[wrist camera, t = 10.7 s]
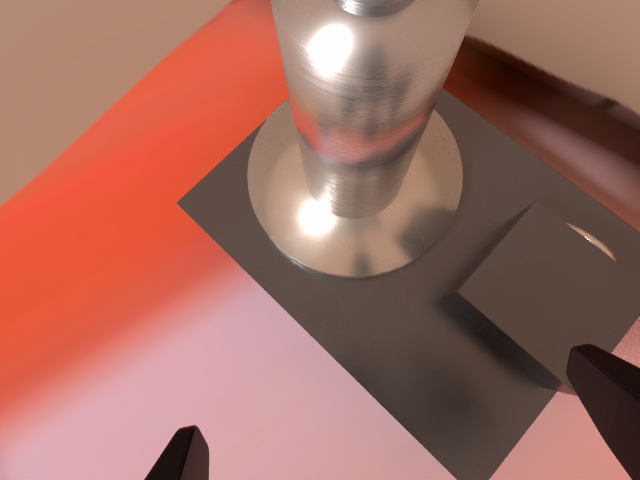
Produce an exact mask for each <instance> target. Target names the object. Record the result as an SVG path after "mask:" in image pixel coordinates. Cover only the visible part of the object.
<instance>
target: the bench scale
mask: <svg viewBox="0 0 640 480" xmlns="http://www.w3.org/2000/svg"><path fill="white" fill-rule="evenodd" d="M177 204H178V205H179V206H180V207H181V208H182V209H183V210H184V211H185V212H186V213H187V214H188V215H189V216H190V217H191V218H192V219H193V220H194V221H195V222H196V223H197V224H198V225H200V226H201V227H202V228H203V229H204V230H205V231H206V232H207V233H208V234H209V235H210V236H211V237H212V238H213V239H214V240H215V241H216V242H217V243H218V244H219V245H220V246H221V247H222V248H223V249H224V250H225V251H226V252H227V253H228V254H229V255H230V256H231V257H232V258H233V259H234V260H235V261H236V262H237V263H238V264H239V265H240V266H241V267H242V268H243V269H244V270H245V271H246V272H247V273H248V274H249V275H250V276H251V277H252V278H253V279H254V280H255V281H256V282H257V283H258V284H259V285H260V286H261V287H262V288H263V289H264V290H265V291H266V292H267V293H268V294H269V295H270V296H272V297H273V298H274V299H275V300H276V301H277V302H278V303H279V304H280V305H281V306H282V307H283V308H284V309H285V310H286V311H287V312H288V313H289V314H290V315H291V316H292V317H293V318H294V319H295V320H296V321H297V322H298V323H299V324H300V325H301V326H302V327H303V328H304V329H305V330H306V331H307V332H308V333H309V334H310V335H311V336H312V337H313V338H314V339H315V340H316V341H317V342H318V343H319V344H320V345H321V346H322V347H323V348H324V349H325V350H326V351H327V352H328V353H329V354H330V355H331V356H332V357H333V358H334V359H335V360H336V361H337V362H338V363H339V364H340V365H341V366H342V367H343V368H345V369H346V370H347V371H348V372H349V373H350V374H351V375H352V376H353V377H354V378H355V379H356V380H357V381H358V382H359V383H360V384H361V385H362V386H363V387H364V388H365V389H366V390H367V391H368V392H369V393H370V394H371V395H372V396H373V397H374V398H375V399H376V400H377V401H378V402H379V403H380V404H381V405H382V406H383V407H384V408H385V409H386V410H387V411H388V412H389V413H390V414H391V415H392V416H393V417H394V418H395V419H396V420H397V421H398V422H399V423H400V424H401V425H402V426H403V427H404V428H405V429H406V430H407V431H408V432H409V433H410V434H411V435H412V436H413V437H414V438H415V439H416V440H418V441H419V442H420V443H421V444H422V445H423V446H424V447H425V448H426V449H427V450H428V451H429V452H430V453H431V454H432V455H433V456H434V457H435V458H436V459H437V460H438V461H439V462H440V463H441V464H442V465H443V466H444V467H445V468H446V469H447V470H448V471H449V472H450V473H451V474H452V475H453V476H454V477H455V478H456V479H457V480H489V479H490V478H491V476H492V475H493V474H494V472H495V471H496V470H497V469H498V467H499V466H500V465H501V463H502V462H503V461H504V459H505V458H506V457H507V456H508V454H509V453H510V452H511V450H512V449H513V448H514V447H515V445H516V444H517V443H518V441H519V440H520V439H521V437H522V436H523V435H524V434H525V432H526V431H527V430H528V428H529V427H530V426H531V425H532V423H533V422H534V421H535V419H536V418H537V417H538V415H539V414H540V413H541V412H542V410H543V409H544V408H545V406H546V405H547V404H548V402H549V401H550V400H551V399H552V397H553V396H554V395H555V393H556V392H557V391H559V392H563V393H567V394H572V395H576V396H578V395H577V393H576V392H575V390H574V388H573V387H572V385H571V383H570V381H569V379H568V377H567V374H566V368H567V363H568V358H569V354H570V350H571V348H572V347H574V346H578V345H583V344H592V345H595V346H597V347H599V348H601V349H603V350H605V351H607V352H609V353H611V352H612V351H613V350H614V349H615V347H616V346H617V345H618V343H619V342H620V341H621V339H622V338H623V337H624V335H625V334H626V333H627V331H628V330H629V329H630V327H631V326H632V325H633V323H634V322H635V321H636V320H637V318H638V317H639V316H640V232H639V231H637V230H636V229H635V228H633V227H632V226H631V225H629V224H628V223H626V222H625V221H624V220H622V219H621V218H620V217H618V216H617V215H616V214H614V213H613V212H611V211H610V210H609V209H607V208H606V207H605V206H603V205H602V204H601V203H599V202H598V201H596V200H595V199H594V198H592V197H591V196H590V195H588V194H587V193H586V192H584V191H583V190H581V189H580V188H579V187H577V186H576V185H575V184H573V183H572V182H571V181H569V180H568V179H566V178H565V177H564V176H562V175H561V174H560V173H558V172H557V171H556V170H554V169H553V168H551V167H550V166H549V165H547V164H546V163H545V162H543V161H542V160H541V159H539V158H538V157H536V156H535V155H534V154H532V153H531V152H530V151H528V150H527V149H526V148H524V147H523V146H521V145H520V144H519V143H517V142H516V141H515V140H513V139H512V138H511V137H509V136H508V135H507V134H505V133H504V132H502V131H501V130H500V129H498V128H497V127H496V126H494V125H493V124H492V123H490V122H489V121H487V120H486V119H485V118H483V117H482V116H481V115H479V114H478V113H477V112H475V111H474V110H472V109H471V108H470V107H468V106H467V105H466V104H464V103H463V102H462V101H460V100H459V99H457V98H456V97H455V96H453V95H452V94H451V93H449V92H448V91H447V90H445V89H444V88H442V90H441V93H440V95H439V98H438V100H437V102H436V105H435V107H434V110H433V112H432V114H431V117H430V119H429V122H428V124H427V126H426V129H425V131H424V134H423V136H422V138H421V141H420V143H419V146H418V148H417V150H416V153H415V155H414V158H413V160H412V162H411V165H410V167H409V170H408V172H407V174H406V177H405V179H404V182H403V184H402V186H401V189H400V191H399V193H398V195H397V197H396V198H395V200H394V201H393V202H392V203H391V204H390V205H389V206H388V207H387V208H386V209H384V210H383V211H381V212H380V213H378V214H376V215H373V216H370V217H367V218H362V219H347V218H342V217H338V216H335V215H333V214H331V213H329V212H327V211H326V210H324V209H323V208H322V207H320V206H319V205H318V204H317V203H316V202H315V200H314V199H313V197H312V196H311V194H310V192H309V190H308V187H307V184H306V179H305V174H304V169H303V164H302V159H301V154H300V149H299V143H298V138H297V133H296V128H295V123H294V118H293V113H292V108H291V102H290V98H288V99H287V100H286V101H284V102H283V103H282V104H281V105H279V106H278V107H277V108H276V109H275V110H274V112H273V113H272V114H271V115H270V116H269V117H268V118H267V119H266V120H265V121H264V122H263V123H262V124H261V125H260V126H259V127H258V128H257V129H256V130H254V131H253V132H252V133H251V134H250V135H249V136H248V137H247V138H246V139H245V140H244V141H243V142H242V143H240V144H239V145H238V146H237V147H236V148H235V149H234V150H233V151H232V152H231V153H230V154H229V155H228V156H227V157H225V158H224V159H223V160H222V161H221V162H220V163H219V164H218V165H217V166H216V167H215V168H214V169H213V170H211V171H210V172H209V173H208V174H207V175H206V176H205V177H204V178H203V179H202V180H201V181H200V182H199V183H198V184H196V185H195V186H194V187H193V188H192V189H191V190H190V191H189V192H188V193H187V194H186V195H185V196H184V197H182V198H181V199H180V200H179V201H178V202H177Z"/></svg>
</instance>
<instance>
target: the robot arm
mask: <svg viewBox="0 0 640 480" xmlns="http://www.w3.org/2000/svg"><path fill="white" fill-rule="evenodd" d="M566 374H567V377H568V379H569V381H570V383H571V385H572V387H573V388H574V390H575V392H576V393H577V395H578V397H579V398H580V400H581V402H582V404H583V405H584V407H585V409H586V410H587V412H588V414H589V415H590V417H591V419H592V421H593V422H594V424H595V426H596V427H597V429H598V431H599V432H600V434H601V436H602V437H603V439H604V441H605V442H606V444H607V445H608V447H609V448H610V449H611V451H612V452H613V454H614V455H615V457H616V458H617V459H618V461H619V462H620V463H621V465H622V466H623V468H624V469H625V470H626V472H627V473H628V475H629V476H630V477H631V479H632V480H640V368H639V367H637V366H635V365H633V364H631V363H629V362H627V361H625V360H623V359H621V358H619V357H617V356H615V355H613V354H611V353H609V352H607V351H605V350H603V349H601V348H599V347H597V346H595V345H592V344H583V345H578V346H574V347H572V348H571V350H570V354H569V358H568V363H567V368H566ZM144 480H209V448H208V445H207V443H206V441H205V439H204V437H203V435H202V433H201V431H200V430H199V428H198V427H197V426H196V425H192V426H188V427H183V428H180V429H179V430H177V432H176V433H175V434H174V436H173V437H172V439H171V440H170V442H169V443H168V445H167V446H166V448H165V449H164V451H163V452H162V454H161V455H160V457H159V458H158V460H157V461H156V463H155V464H154V466H153V467H152V469H151V470H150V472H149V473H148V475H147V476H146V478H145V479H144Z"/></svg>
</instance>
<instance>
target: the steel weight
mask: <svg viewBox="0 0 640 480" xmlns="http://www.w3.org/2000/svg"><path fill="white" fill-rule="evenodd" d="M478 1H479V0H271V5H272V10H273V15H274V20H275V26H276V31H277V36H278V41H279V46H280V51H281V56H282V61H283V67H284V72H285V77H286V82H287V87H288V92H289V97H290V102H291V108H292V113H293V118H294V123H295V128H296V133H297V138H298V143H299V149H300V154H301V159H302V164H303V169H304V174H305V179H306V184H307V187H308V190H309V192H310V194H311V196H312V197H313V199H314V200H315V202H316V203H317V204H318V205H319V206H320V207H322V208H323V209H324V210H326V211H327V212H329V213H331V214H333V215H335V216H338V217H342V218H347V219H362V218H367V217H370V216H373V215H376V214H378V213H380V212H381V211H383V210H384V209H386V208H387V207H388V206H389V205H390V204H391V203H392V202H393V201H394V200H395V198H396V197H397V195H398V193H399V191H400V189H401V186H402V184H403V182H404V179H405V177H406V174H407V172H408V170H409V167H410V165H411V162H412V160H413V158H414V155H415V153H416V150H417V148H418V146H419V143H420V141H421V138H422V136H423V134H424V131H425V129H426V126H427V124H428V122H429V119H430V117H431V114H432V112H433V110H434V107H435V105H436V102H437V100H438V98H439V95H440V93H441V90H442V88H443V86H444V83H445V81H446V78H447V76H448V74H449V71H450V69H451V66H452V64H453V62H454V59H455V57H456V54H457V52H458V50H459V47H460V45H461V42H462V40H463V38H464V35H465V33H466V30H467V28H468V25H469V23H470V21H471V18H472V16H473V14H474V11H475V9H476V6H477V4H478Z"/></svg>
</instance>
